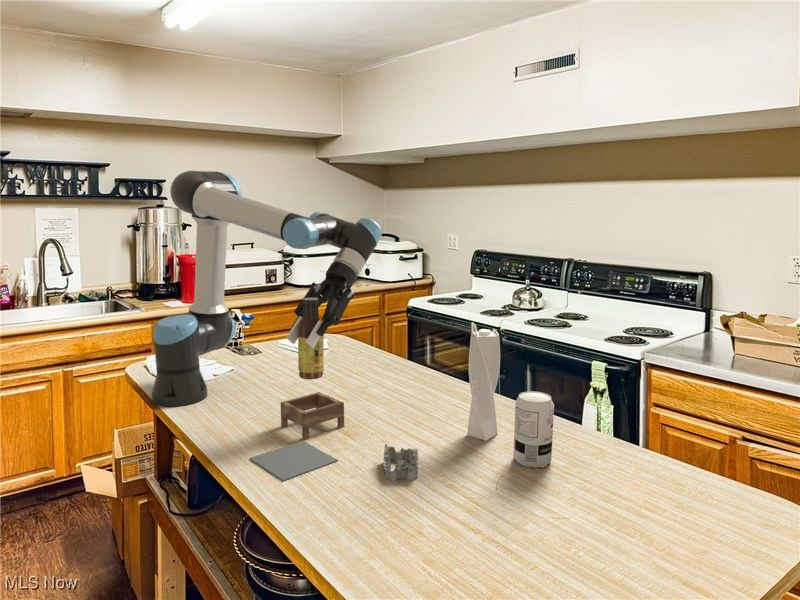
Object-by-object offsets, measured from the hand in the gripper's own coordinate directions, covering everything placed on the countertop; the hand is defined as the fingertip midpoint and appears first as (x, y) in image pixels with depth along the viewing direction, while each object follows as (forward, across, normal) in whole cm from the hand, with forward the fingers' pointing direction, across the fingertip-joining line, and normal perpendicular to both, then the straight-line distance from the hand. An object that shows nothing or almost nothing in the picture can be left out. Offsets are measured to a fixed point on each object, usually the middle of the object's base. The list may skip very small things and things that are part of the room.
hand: (299, 342), depth 144 cm
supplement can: (+2, -53, -30) cm, 61 cm away
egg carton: (+17, -32, -15) cm, 40 cm away
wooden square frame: (+14, 0, -19) cm, 23 cm away
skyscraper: (-2, -37, -34) cm, 50 cm away
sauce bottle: (+4, 0, -9) cm, 10 cm away
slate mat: (+25, -11, -7) cm, 28 cm away
